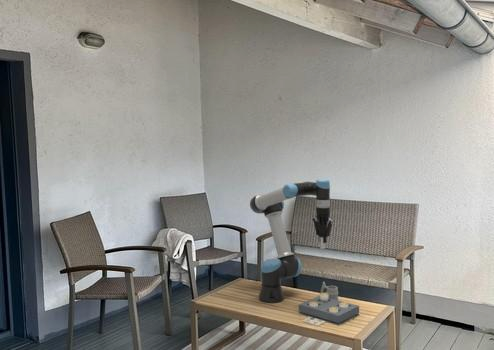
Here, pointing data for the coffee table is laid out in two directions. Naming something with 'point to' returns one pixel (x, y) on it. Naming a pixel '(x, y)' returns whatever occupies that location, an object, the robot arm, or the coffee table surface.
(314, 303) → the button
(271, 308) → the coffee table surface
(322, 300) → the button
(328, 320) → the console
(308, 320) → the card
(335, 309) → the button
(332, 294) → the mug
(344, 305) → the button
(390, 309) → the coffee table surface
